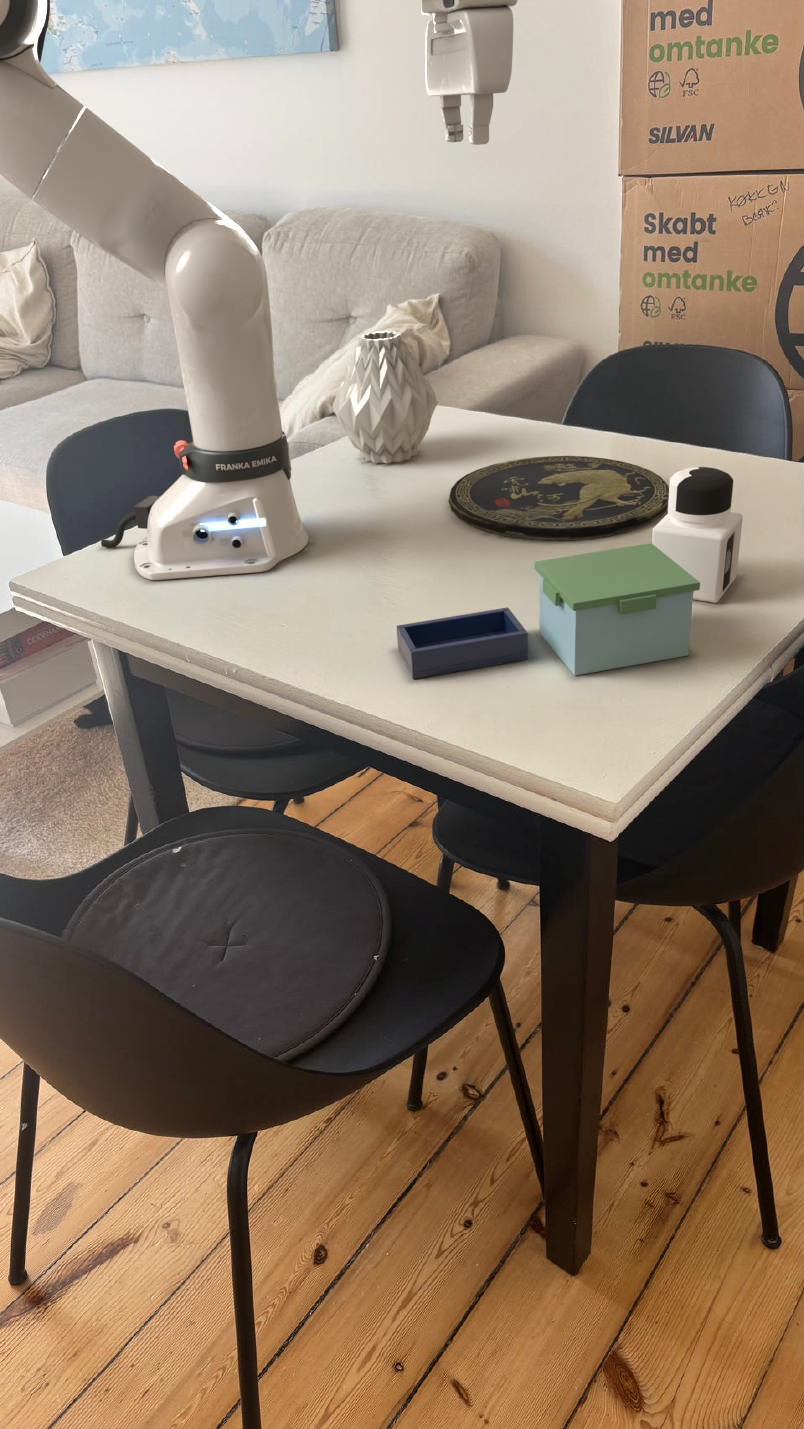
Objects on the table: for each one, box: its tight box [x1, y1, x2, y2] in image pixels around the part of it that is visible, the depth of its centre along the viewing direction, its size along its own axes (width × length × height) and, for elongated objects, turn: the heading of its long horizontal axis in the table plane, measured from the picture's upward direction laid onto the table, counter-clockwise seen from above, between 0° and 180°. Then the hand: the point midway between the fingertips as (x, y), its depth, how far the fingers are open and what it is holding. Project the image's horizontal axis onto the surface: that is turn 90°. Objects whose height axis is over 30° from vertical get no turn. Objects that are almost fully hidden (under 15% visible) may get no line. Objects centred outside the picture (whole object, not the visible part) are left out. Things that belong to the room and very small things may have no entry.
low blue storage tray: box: [395, 606, 529, 680], centre depth 107 cm, size 12×6×3 cm, turn 103°
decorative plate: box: [448, 455, 669, 541], centre depth 144 cm, size 30×2×30 cm
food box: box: [533, 542, 700, 676], centre depth 106 cm, size 14×12×8 cm
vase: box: [331, 330, 439, 465], centre depth 162 cm, size 16×16×18 cm
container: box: [651, 466, 744, 604], centre depth 115 cm, size 8×8×13 cm
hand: (466, 143), depth 117 cm, fingers open, 8 cm apart
